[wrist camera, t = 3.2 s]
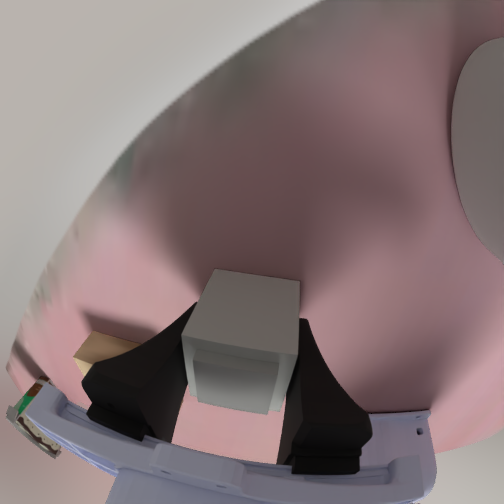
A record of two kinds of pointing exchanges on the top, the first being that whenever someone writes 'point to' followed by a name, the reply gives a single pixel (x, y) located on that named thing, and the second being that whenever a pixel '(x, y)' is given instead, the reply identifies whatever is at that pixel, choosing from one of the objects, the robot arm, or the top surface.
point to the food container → (26, 425)
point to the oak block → (101, 350)
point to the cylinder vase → (481, 143)
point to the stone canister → (243, 341)
